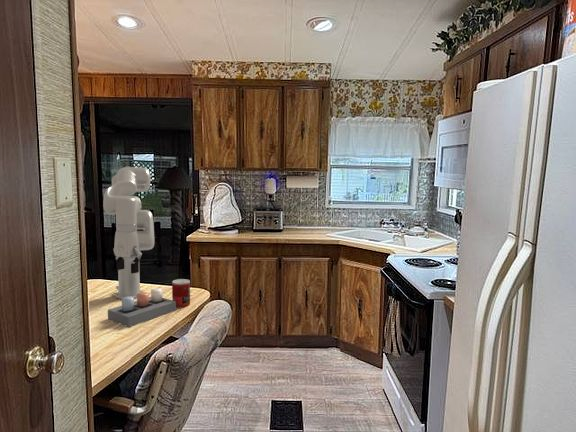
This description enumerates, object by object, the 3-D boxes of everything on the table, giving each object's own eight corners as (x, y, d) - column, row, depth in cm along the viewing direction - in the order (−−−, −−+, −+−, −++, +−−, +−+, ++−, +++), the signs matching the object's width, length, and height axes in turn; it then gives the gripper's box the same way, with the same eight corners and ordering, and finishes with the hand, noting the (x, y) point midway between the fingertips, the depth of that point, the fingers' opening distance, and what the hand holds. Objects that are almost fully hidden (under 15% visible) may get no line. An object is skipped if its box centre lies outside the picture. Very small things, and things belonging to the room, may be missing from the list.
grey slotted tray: (107, 319, 155) (107, 309, 155) (155, 304, 174) (155, 295, 174) (128, 327, 148) (128, 317, 147) (176, 310, 167) (175, 301, 166)
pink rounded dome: (134, 304, 160) (134, 294, 159) (144, 301, 164) (144, 291, 163) (141, 306, 157) (141, 296, 157) (151, 303, 161) (150, 293, 161)
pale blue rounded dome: (119, 309, 154) (119, 298, 154) (129, 306, 158) (129, 295, 157) (126, 311, 152) (126, 300, 151) (136, 308, 155) (136, 297, 155)
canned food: (185, 308, 170) (185, 284, 169) (169, 306, 171) (168, 282, 170) (193, 302, 177) (193, 279, 176) (177, 301, 179) (177, 278, 178)
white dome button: (149, 300, 166) (148, 290, 165) (157, 297, 170) (157, 287, 169) (155, 302, 163) (155, 292, 163) (164, 299, 167) (164, 289, 167)
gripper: (104, 227, 153) (106, 269, 155) (131, 231, 144) (132, 276, 145) (121, 225, 159) (123, 266, 161) (148, 229, 150) (149, 272, 152)
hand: (127, 271), depth 153 cm, fingers open, 8 cm apart
